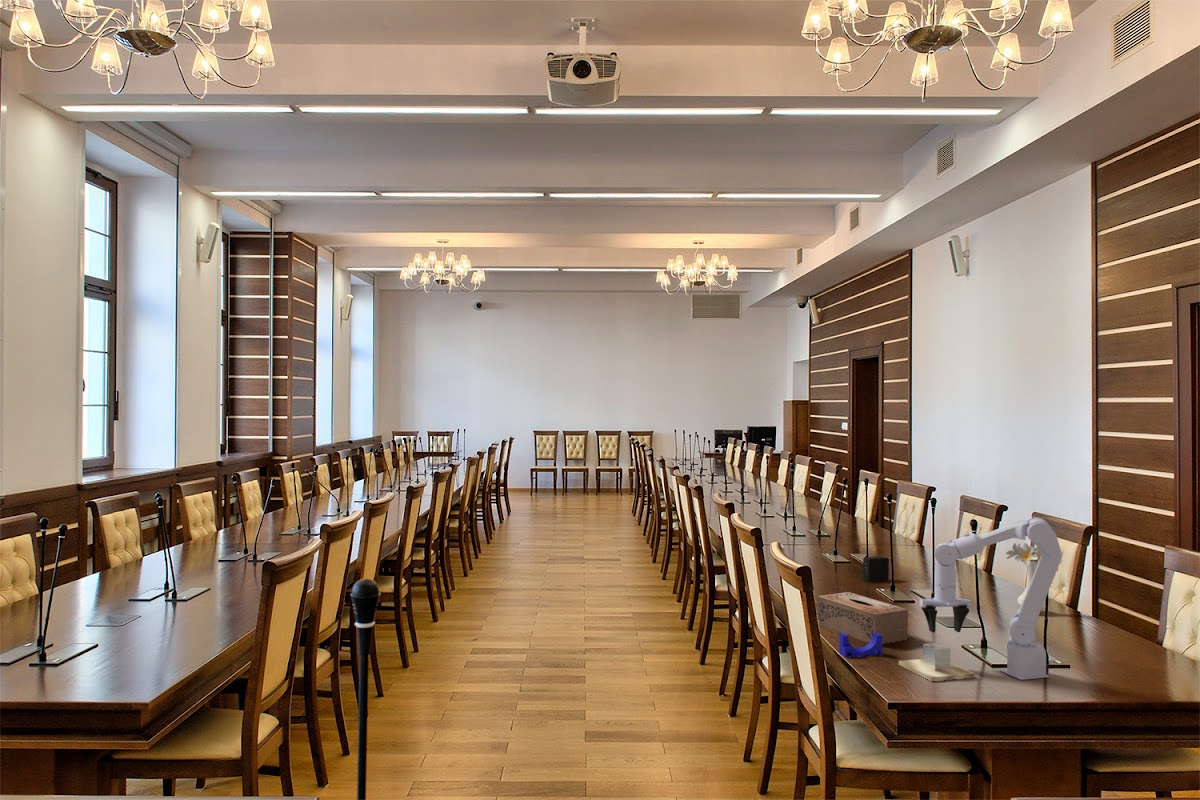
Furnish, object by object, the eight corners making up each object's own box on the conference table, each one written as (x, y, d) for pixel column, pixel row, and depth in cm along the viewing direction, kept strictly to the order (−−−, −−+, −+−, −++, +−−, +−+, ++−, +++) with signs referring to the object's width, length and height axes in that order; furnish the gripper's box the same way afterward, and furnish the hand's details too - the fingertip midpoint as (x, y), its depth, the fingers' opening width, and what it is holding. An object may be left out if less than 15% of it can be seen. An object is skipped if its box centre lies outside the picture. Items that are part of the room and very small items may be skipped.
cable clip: (844, 657, 232) (845, 637, 232) (839, 653, 237) (839, 633, 237) (884, 657, 233) (884, 637, 233) (877, 652, 237) (877, 632, 237)
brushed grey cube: (937, 663, 223) (938, 642, 223) (950, 669, 219) (950, 648, 219) (922, 665, 222) (923, 644, 222) (934, 670, 217) (935, 649, 217)
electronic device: (862, 580, 337) (863, 557, 337) (882, 578, 340) (882, 556, 340) (869, 582, 333) (869, 558, 333) (888, 581, 336) (888, 557, 336)
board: (939, 661, 229) (939, 657, 229) (974, 677, 216) (974, 673, 216) (898, 665, 225) (898, 661, 225) (931, 681, 212) (931, 677, 212)
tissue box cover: (907, 640, 251) (907, 609, 251) (874, 646, 244) (875, 614, 244) (848, 620, 273) (848, 591, 274) (816, 625, 267) (817, 596, 267)
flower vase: (1066, 618, 279) (1067, 548, 279) (1010, 614, 283) (1011, 545, 283) (1053, 609, 292) (1054, 542, 292) (1000, 605, 295) (1001, 539, 296)
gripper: (928, 588, 223) (927, 635, 223) (976, 587, 224) (976, 635, 224) (916, 582, 230) (915, 628, 230) (963, 582, 231) (962, 628, 231)
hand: (944, 631), depth 227 cm, fingers open, 7 cm apart
